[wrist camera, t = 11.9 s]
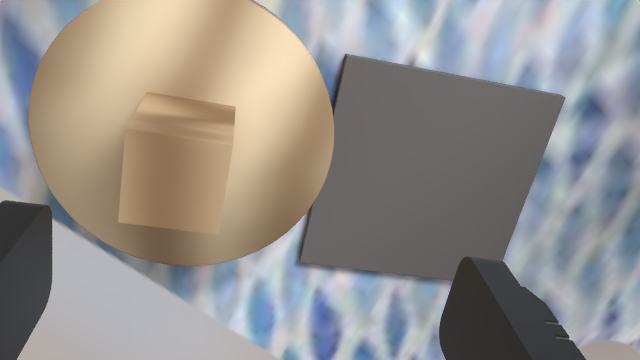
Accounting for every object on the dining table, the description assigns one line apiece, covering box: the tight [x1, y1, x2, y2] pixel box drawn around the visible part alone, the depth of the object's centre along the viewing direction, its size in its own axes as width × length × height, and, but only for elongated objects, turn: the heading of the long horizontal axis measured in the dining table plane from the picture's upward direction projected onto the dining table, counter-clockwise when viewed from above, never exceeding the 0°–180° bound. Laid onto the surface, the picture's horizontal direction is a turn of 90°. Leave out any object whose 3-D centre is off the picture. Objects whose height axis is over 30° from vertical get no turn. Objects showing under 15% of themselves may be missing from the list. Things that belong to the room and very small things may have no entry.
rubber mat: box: [299, 54, 565, 280], centre depth 37 cm, size 14×14×1 cm
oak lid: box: [28, 0, 334, 266], centre depth 25 cm, size 14×14×6 cm
